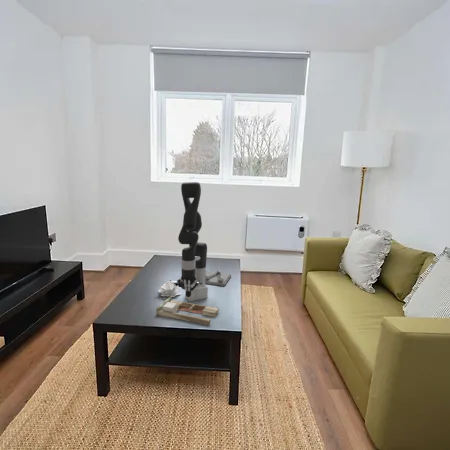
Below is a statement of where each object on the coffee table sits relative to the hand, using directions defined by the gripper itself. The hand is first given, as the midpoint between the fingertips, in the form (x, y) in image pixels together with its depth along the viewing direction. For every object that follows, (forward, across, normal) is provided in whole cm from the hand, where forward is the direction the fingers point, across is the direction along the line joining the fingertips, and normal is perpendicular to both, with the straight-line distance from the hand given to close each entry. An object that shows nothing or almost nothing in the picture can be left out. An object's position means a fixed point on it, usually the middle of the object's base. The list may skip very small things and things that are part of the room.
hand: (188, 296), depth 175 cm
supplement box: (+8, +9, -19) cm, 22 cm away
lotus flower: (+12, +22, -21) cm, 33 cm away
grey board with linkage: (+13, +9, -57) cm, 59 cm away
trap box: (+11, +1, +1) cm, 11 cm away
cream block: (+11, +11, +1) cm, 16 cm away
